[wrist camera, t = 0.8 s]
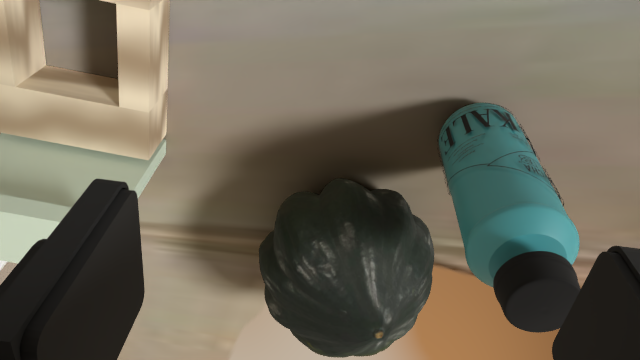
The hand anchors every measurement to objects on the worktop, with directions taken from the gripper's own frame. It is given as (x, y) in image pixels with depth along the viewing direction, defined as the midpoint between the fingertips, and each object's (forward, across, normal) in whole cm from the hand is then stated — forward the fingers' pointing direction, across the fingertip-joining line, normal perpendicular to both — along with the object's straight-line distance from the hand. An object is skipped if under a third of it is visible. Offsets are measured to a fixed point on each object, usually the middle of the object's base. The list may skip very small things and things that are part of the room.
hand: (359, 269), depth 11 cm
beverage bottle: (+31, -11, +10) cm, 35 cm away
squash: (+32, -3, +22) cm, 39 cm away
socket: (+31, +19, +7) cm, 37 cm away
